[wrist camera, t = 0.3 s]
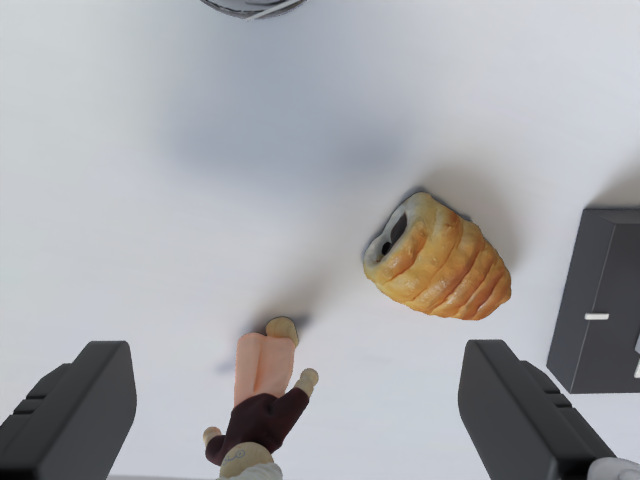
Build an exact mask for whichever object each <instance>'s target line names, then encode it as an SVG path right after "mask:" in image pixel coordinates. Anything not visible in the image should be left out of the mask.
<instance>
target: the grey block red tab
mask: <svg viewBox="0 0 640 480" xmlns="http://www.w3.org/2000/svg"><path fill="white" fill-rule="evenodd" d="M635 351H637V352H638V353H639V354H640V334H639V337H638V340H637V343H636V347H635Z"/></svg>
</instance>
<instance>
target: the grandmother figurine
mask: <svg viewBox="0 0 640 480" xmlns="http://www.w3.org/2000/svg"><path fill="white" fill-rule="evenodd" d="M266 333H267V336H264V335H262V334H259V333H253V332H252V333H248V334H245V335H243V336H242V337H241V338H240V339H239V340H238V345H237V353H236V368H235V388H234V408H233V410H232V412H231V418H230V422H229V425H228V428H227V432H226V435H221V431H220V430H219V429H218V428H216V427H209V428H207V429H206V430H205V432H204V434H203V440H204V442H205V446H206V451H205V455H206V458H207V459H208V461H210V462H212V463H213V464H215V465H218V466H221V468H220V478H217V479H216V480H282V477H283V475H282V471H281V469H280V467H279V466H278V465H277V464H275V463H274V460H273V458H272V456H271V454H272V453H273V452H274V451H276V450H277V449H279V448H280V447H281V446H282V443H283V440H284V439H285V437H286V436H287V434H288V433H289V431H290V430H291V429H292V427H293V426H294V425H295V423H296V422H297V420H298V419H299V417H300V416H301V414H302V412H303V411H304V409H305V408H306V406H307V405H308V403H309V398H310V396H311V394H312V392H313V389H314V388H313V387H314V386H315V385H316V384H317V382H318V373H317V372H316V371H315V370H314V369H311V368H307V369H305V370H304V371H303V372H302V373H301V376H300V379H299V380H298V381H297V382H296V384H295V386H294V388H293V389H291V390H290V391H289V392H288V393H286V394H285V390H286V388H287V386H288V383H289V380H290V378H291V375H292V372H293V363H294V351H295V349H296V347H297V346H298V337H297V333H296V329H295V326H294V323H293V322H292V321H291V320H290V319H288V318H286V317H279V318H275V319H273V320H271V321H270V322H269V323H268V324H267V326H266Z"/></svg>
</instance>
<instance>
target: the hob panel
mask: <svg viewBox="0 0 640 480" xmlns="http://www.w3.org/2000/svg"><path fill="white" fill-rule="evenodd" d="M639 334H640V210H612V209H585V210H583V214H582V218H581V223H580V227H579V231H578V235H577V240H576V244H575V248H574V252H573V256H572V261H571V265H570V269H569V273H568V277H567V282H566V286H565V290H564V294H563V298H562V303H561V307H560V311H559V315H558V319H557V324H556V328H555V332H554V336H553V340H552V345H551V349H550V353H549V357H548V361H547V368H548V369H549V370H550V372H551V373H552V374H553V375H554V376H555V377H556V379H557V380H558V381H559V382H560V383H561V384H562V386H563V387H564V388H565V389H566V390H567V391H568V393H570V394H594V393H640V354H639V353H638V352H637V351H635V347H636V343H637V340H638V337H639Z"/></svg>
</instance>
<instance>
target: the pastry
mask: <svg viewBox="0 0 640 480" xmlns="http://www.w3.org/2000/svg"><path fill="white" fill-rule="evenodd" d="M363 267H364V272H365V275H366V277H367V278H368V279H370V280H371V281H373V282H374V283H375V285H376V287H377V288H378V289H379V290H380V291H381V292H382V293H384V294H385V295H386V296H389V297H390V298H391V299H392V300H394V301H396V302H399V303H401V304H404V305H406V306H408V307H409V308H411V309H413V310H415V311H420V312H423V313H425V314H427V315H437V316H439V317H443V318H446V317H452V318H458V319H462V320H480V319H483V318H485V317H487V316H489V315H490V314H491V313H492V312H493V311H494V310H496V309H497V308H498V307H499V306H500V305H501V304H502V303H505V302H506V301H508V300H509V299H510V298H511V276H510V273H509V271H508V270H507V268H506V267H505V265H504V262H503V260H502V258H501V257H500V256H499V255H498V252H497V251H496V249H495V248H493V246H492V245H491V244H490V243H489V242H488V241H486V240H485V239H484V237H483V235H482V233H481V231H480V229H479V227H478V226H477V225H476V224H474V223H472V222H469V221H465V220H464V219H462V218H461V217H460V216H459V215H457V214H456V213H455V212H453V211H452V210H450V209H449V208H447V207H446V206H443V205H442V204H440V203H439V202H437V201H435V200H434V199H433V198H432V196H431V195H430V194H429V193H424V192H419V193H415V194H413V195H412V196H411V197H410V198H408V199H407V200H406V201H405V202H403V203H402V204H401V205H400V206H399V207H398V208H397V209H396V210H395V212H394V213H393V214H392V216H391V218H390V220H389V222H388V223H387V225H386V227H385V229H384V232H383V233H382V234H381V235H380V236H379V237H377V238H376V239H375V240H374V241H373V242H372V243H371V244H370V246H369V247H368V249H367V250H366V252H365V256H364V261H363Z"/></svg>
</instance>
